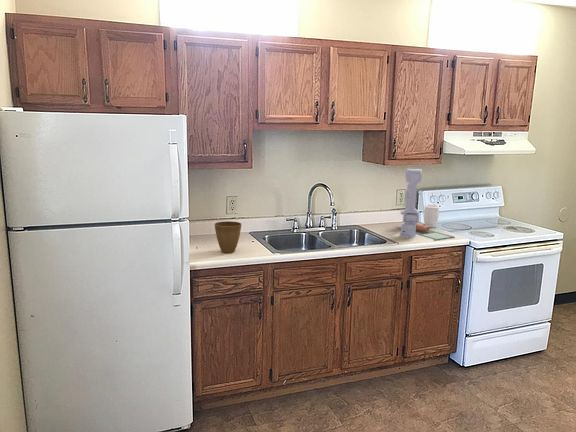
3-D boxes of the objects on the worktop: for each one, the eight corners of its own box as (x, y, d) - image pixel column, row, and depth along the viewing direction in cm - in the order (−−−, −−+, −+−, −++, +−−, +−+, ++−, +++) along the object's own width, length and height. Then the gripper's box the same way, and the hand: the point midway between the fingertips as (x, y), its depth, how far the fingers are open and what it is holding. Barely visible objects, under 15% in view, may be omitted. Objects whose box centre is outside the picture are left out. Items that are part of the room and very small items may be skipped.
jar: (438, 228, 341) (440, 207, 338) (423, 227, 342) (425, 206, 339) (436, 225, 351) (438, 205, 348) (421, 224, 353) (423, 204, 350)
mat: (435, 240, 306) (435, 239, 305) (402, 231, 330) (402, 230, 330) (454, 237, 315) (454, 236, 314) (421, 228, 339) (421, 227, 339)
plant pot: (245, 253, 268) (246, 225, 265) (220, 256, 260) (220, 227, 257) (234, 246, 280) (234, 219, 277) (210, 249, 273) (210, 222, 270)
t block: (420, 234, 320) (421, 228, 319) (407, 230, 330) (407, 224, 329) (433, 232, 326) (433, 226, 325) (420, 228, 336) (420, 223, 335)
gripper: (421, 208, 331) (420, 227, 333) (406, 204, 343) (405, 223, 346) (414, 208, 327) (412, 228, 330) (399, 205, 339) (397, 224, 342)
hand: (408, 225), depth 337 cm, fingers closed
